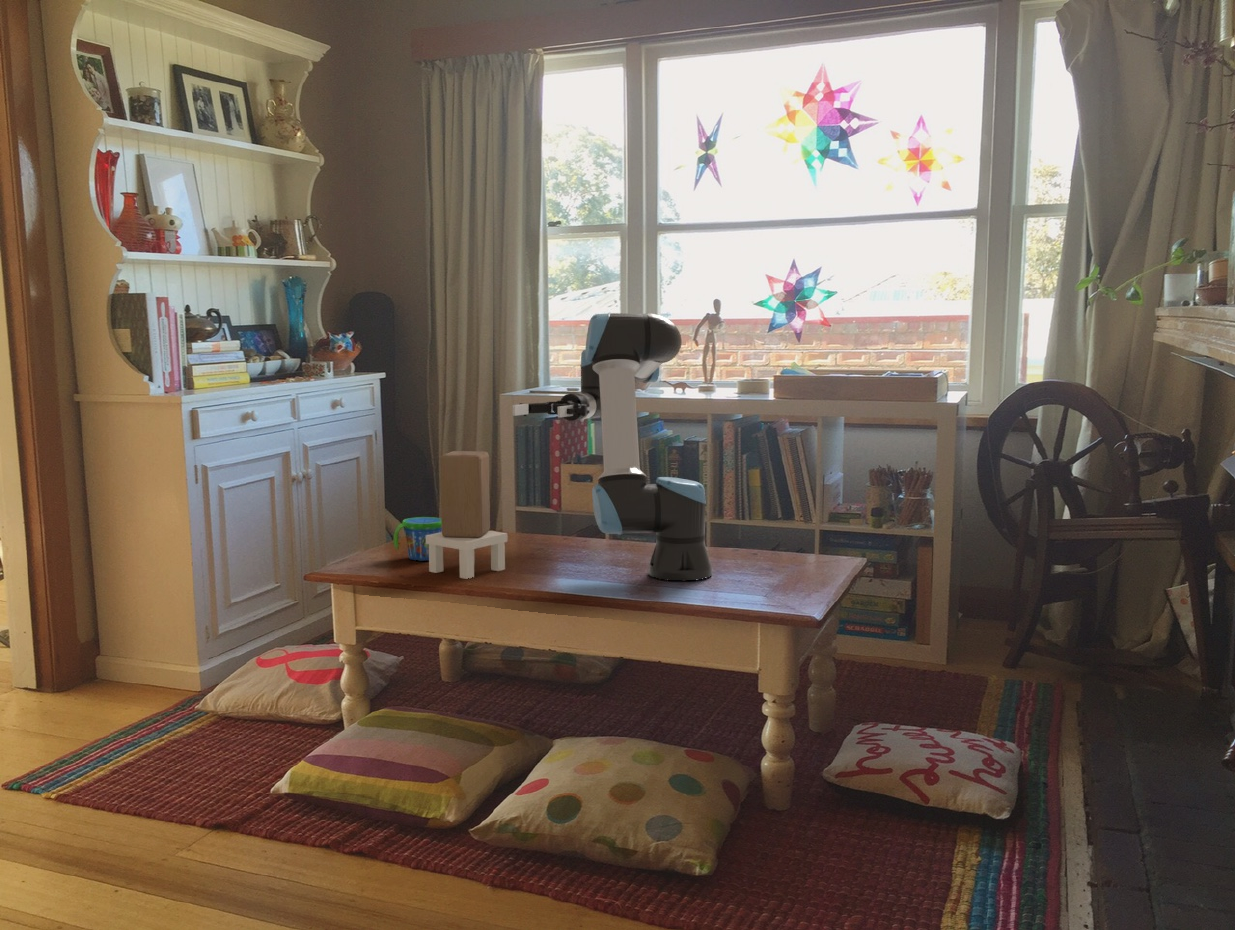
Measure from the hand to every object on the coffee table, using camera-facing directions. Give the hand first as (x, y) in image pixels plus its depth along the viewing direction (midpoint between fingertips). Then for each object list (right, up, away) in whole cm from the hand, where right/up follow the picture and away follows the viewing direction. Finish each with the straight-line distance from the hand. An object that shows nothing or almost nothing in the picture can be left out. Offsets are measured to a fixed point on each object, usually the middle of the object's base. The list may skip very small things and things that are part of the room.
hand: (535, 411), depth 263 cm
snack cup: (-29, -38, +2) cm, 48 cm away
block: (-16, -31, -13) cm, 37 cm away
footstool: (-16, -40, -12) cm, 44 cm away
